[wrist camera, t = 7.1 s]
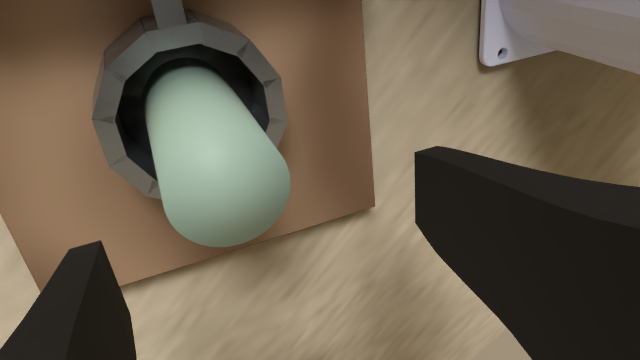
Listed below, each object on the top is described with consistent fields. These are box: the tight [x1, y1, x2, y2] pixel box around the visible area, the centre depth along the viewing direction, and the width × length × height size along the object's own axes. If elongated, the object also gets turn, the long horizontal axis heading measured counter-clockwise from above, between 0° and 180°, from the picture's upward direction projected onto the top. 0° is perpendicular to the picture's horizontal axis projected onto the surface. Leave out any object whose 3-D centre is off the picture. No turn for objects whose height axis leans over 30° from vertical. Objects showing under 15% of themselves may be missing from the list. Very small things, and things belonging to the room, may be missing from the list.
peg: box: [142, 57, 291, 247], centre depth 15 cm, size 3×3×7 cm
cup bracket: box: [0, 0, 375, 292], centre depth 17 cm, size 14×14×5 cm
